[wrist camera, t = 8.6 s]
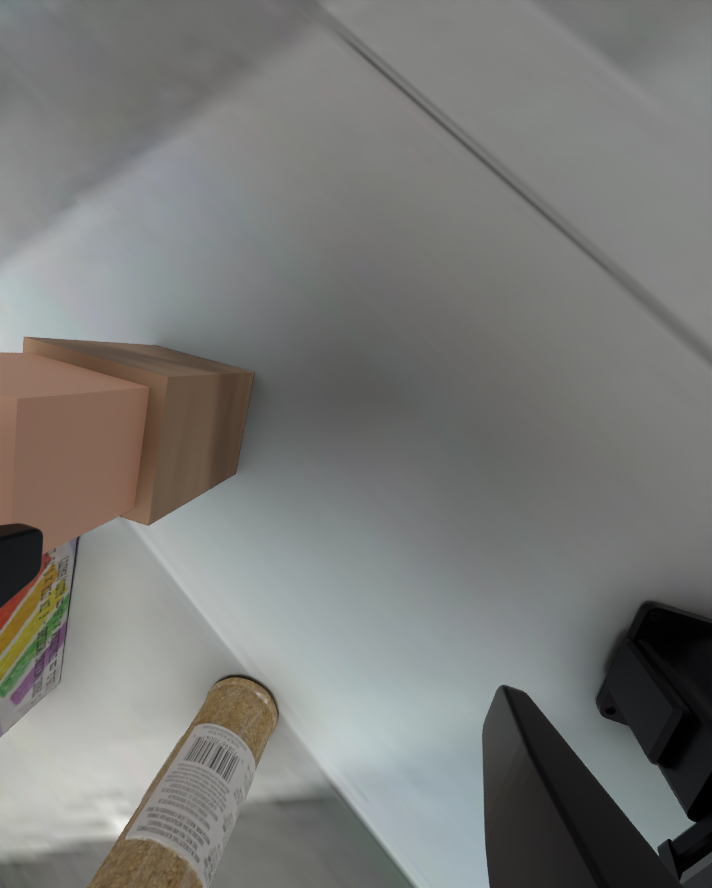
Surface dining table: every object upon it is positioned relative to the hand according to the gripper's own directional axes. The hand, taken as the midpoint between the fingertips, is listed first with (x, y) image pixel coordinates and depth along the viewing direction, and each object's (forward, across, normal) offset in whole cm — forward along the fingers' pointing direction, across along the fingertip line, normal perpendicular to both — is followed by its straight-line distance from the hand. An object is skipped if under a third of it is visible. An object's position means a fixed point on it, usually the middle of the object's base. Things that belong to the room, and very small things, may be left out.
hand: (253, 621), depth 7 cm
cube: (+6, +9, 0) cm, 11 cm away
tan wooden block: (+13, +9, 0) cm, 16 cm away
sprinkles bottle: (+13, +3, +17) cm, 22 cm away
